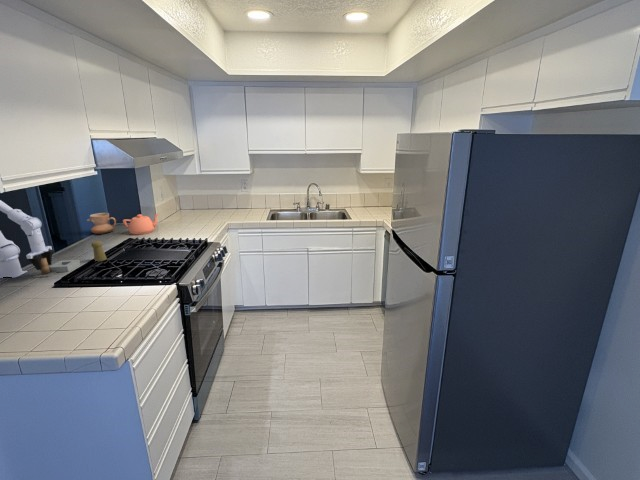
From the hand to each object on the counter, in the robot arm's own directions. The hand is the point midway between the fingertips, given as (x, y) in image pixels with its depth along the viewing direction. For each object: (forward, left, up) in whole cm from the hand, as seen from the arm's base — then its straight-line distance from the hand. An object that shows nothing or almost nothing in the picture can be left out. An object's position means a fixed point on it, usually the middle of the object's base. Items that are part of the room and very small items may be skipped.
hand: (44, 267), depth 172 cm
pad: (0, 0, -4) cm, 4 cm away
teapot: (+16, +78, -4) cm, 80 cm away
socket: (+5, +7, -4) cm, 9 cm away
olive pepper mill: (+17, +19, -4) cm, 26 cm away
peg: (0, 0, -3) cm, 3 cm away
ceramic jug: (-15, +82, -4) cm, 83 cm away
